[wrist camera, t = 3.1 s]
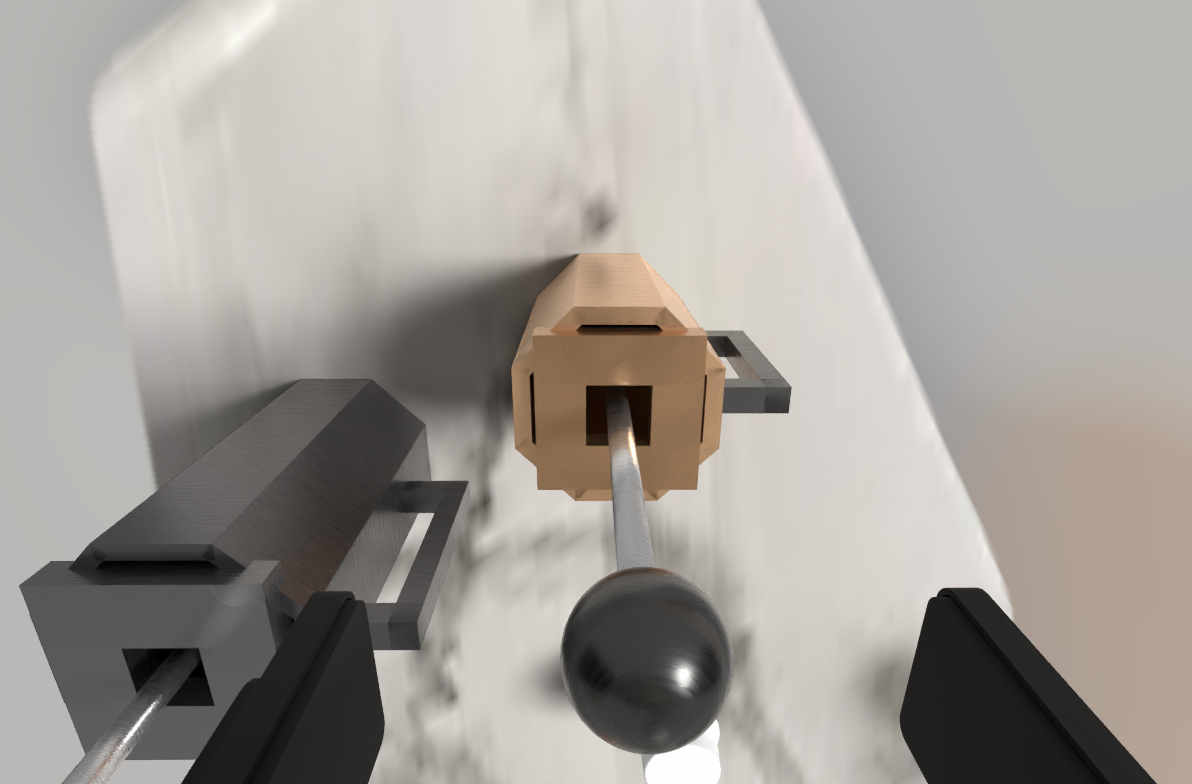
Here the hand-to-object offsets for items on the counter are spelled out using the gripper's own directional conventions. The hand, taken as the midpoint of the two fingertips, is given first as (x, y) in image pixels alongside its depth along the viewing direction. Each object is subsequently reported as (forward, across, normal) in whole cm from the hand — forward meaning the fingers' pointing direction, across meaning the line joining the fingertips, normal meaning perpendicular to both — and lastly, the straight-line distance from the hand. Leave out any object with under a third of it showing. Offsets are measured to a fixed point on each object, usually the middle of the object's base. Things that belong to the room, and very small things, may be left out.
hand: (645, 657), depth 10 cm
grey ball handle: (+17, 0, +1) cm, 17 cm away
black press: (+23, +13, +8) cm, 28 cm away
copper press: (+23, -1, +1) cm, 23 cm away
